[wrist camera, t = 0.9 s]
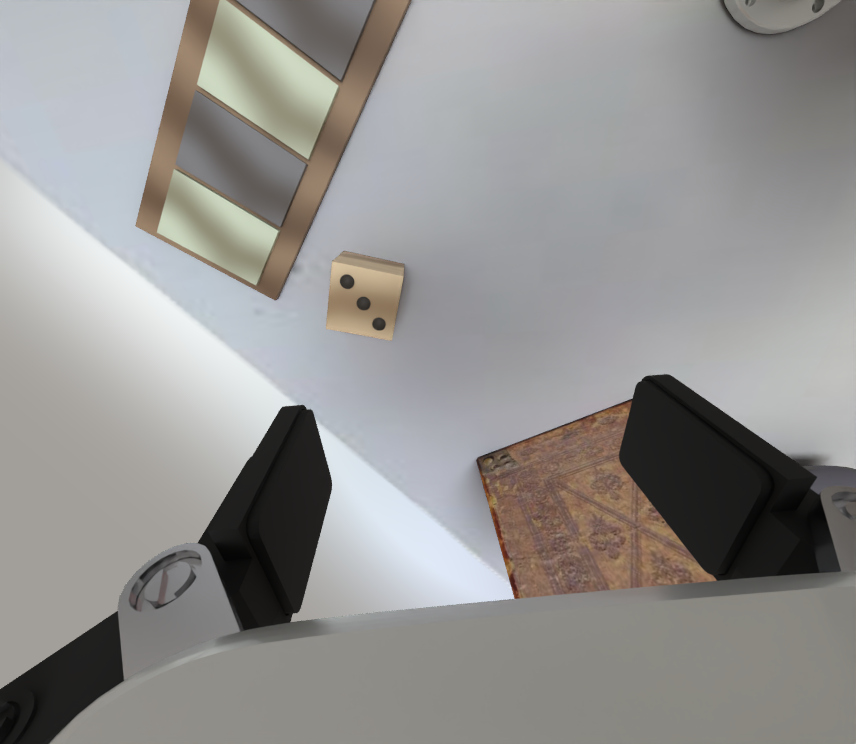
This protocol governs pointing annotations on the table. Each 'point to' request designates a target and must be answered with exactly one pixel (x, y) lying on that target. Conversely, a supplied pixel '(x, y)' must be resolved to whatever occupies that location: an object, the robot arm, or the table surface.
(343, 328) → the die
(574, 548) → the book
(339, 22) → the board
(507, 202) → the table surface
